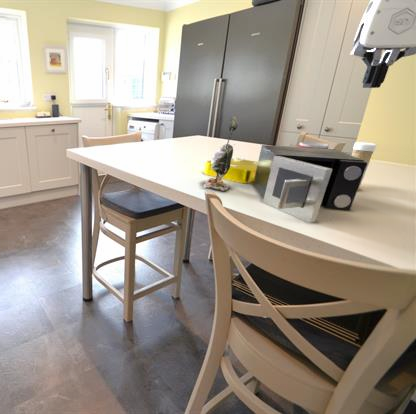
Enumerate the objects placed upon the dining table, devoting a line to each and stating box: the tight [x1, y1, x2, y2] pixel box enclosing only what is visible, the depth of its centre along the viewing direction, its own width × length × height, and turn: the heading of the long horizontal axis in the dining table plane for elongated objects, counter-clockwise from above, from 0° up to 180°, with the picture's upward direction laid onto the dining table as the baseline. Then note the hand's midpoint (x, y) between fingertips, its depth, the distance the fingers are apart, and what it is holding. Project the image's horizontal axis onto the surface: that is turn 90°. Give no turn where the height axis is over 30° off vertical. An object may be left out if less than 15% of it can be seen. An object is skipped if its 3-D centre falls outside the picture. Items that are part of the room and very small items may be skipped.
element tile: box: [203, 156, 258, 184], centre depth 94 cm, size 15×15×5 cm
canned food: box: [298, 141, 330, 149], centre depth 93 cm, size 8×8×11 cm
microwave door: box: [262, 156, 332, 223], centre depth 63 cm, size 8×13×12 cm, turn 17°
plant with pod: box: [201, 115, 239, 192], centre depth 79 cm, size 8×11×20 cm
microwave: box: [252, 144, 367, 212], centre depth 73 cm, size 16×18×12 cm
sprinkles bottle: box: [350, 141, 377, 192], centre depth 81 cm, size 5×5×14 cm
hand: (370, 87), depth 60 cm, fingers closed
